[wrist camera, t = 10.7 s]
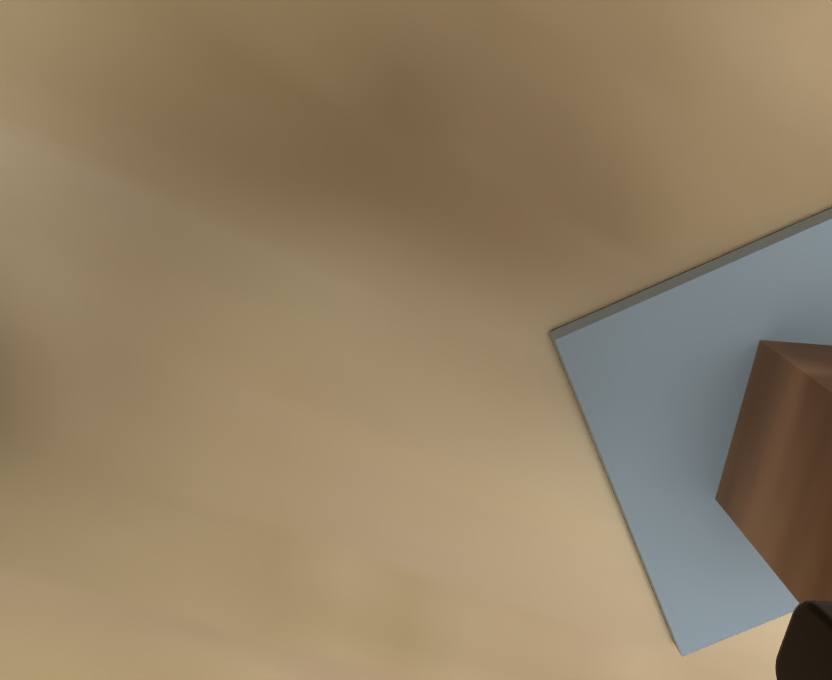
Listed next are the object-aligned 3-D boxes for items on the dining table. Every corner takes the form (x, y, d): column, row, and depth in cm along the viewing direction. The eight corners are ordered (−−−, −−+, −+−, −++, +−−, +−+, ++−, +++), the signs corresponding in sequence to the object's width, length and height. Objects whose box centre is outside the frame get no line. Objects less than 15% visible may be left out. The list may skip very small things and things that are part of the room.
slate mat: (674, 643, 26) (681, 656, 25) (549, 332, 21) (554, 340, 21) (1029, 498, 25) (1045, 509, 24) (974, 144, 21) (991, 148, 20)
